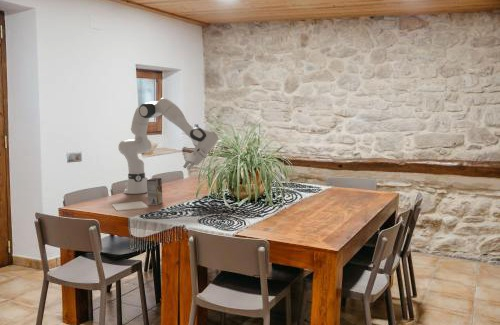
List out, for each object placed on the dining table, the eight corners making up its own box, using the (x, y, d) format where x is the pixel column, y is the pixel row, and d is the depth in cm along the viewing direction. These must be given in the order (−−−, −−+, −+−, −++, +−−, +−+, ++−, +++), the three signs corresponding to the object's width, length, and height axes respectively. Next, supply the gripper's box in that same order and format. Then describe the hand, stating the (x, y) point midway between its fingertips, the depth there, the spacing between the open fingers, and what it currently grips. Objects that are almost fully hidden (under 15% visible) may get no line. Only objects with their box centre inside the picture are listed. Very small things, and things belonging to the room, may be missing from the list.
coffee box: (153, 202, 303) (152, 177, 302) (162, 202, 302) (161, 177, 300) (147, 205, 295) (146, 180, 293) (157, 205, 293) (156, 180, 291)
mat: (111, 205, 297) (111, 204, 297) (141, 202, 305) (141, 201, 305) (116, 211, 279) (116, 210, 279) (148, 207, 287) (148, 206, 287)
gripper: (191, 148, 315) (178, 163, 313) (200, 150, 297) (186, 166, 294) (198, 154, 318) (185, 169, 315) (207, 156, 299) (193, 172, 296)
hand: (185, 168), depth 304 cm, fingers open, 8 cm apart
